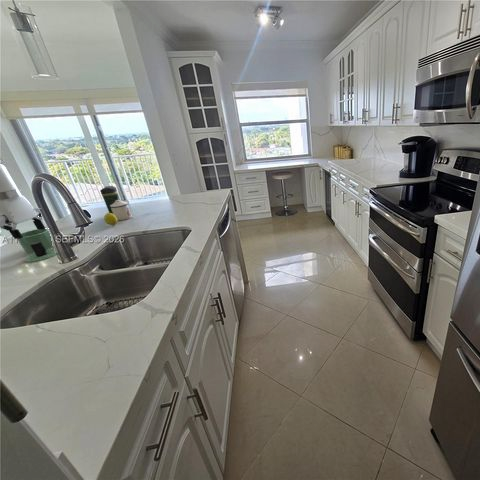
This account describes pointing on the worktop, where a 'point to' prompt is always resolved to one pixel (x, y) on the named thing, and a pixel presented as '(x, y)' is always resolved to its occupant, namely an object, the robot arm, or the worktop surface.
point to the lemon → (110, 219)
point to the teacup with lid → (121, 210)
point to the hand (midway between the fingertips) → (30, 233)
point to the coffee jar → (110, 196)
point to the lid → (39, 252)
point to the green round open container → (35, 239)
